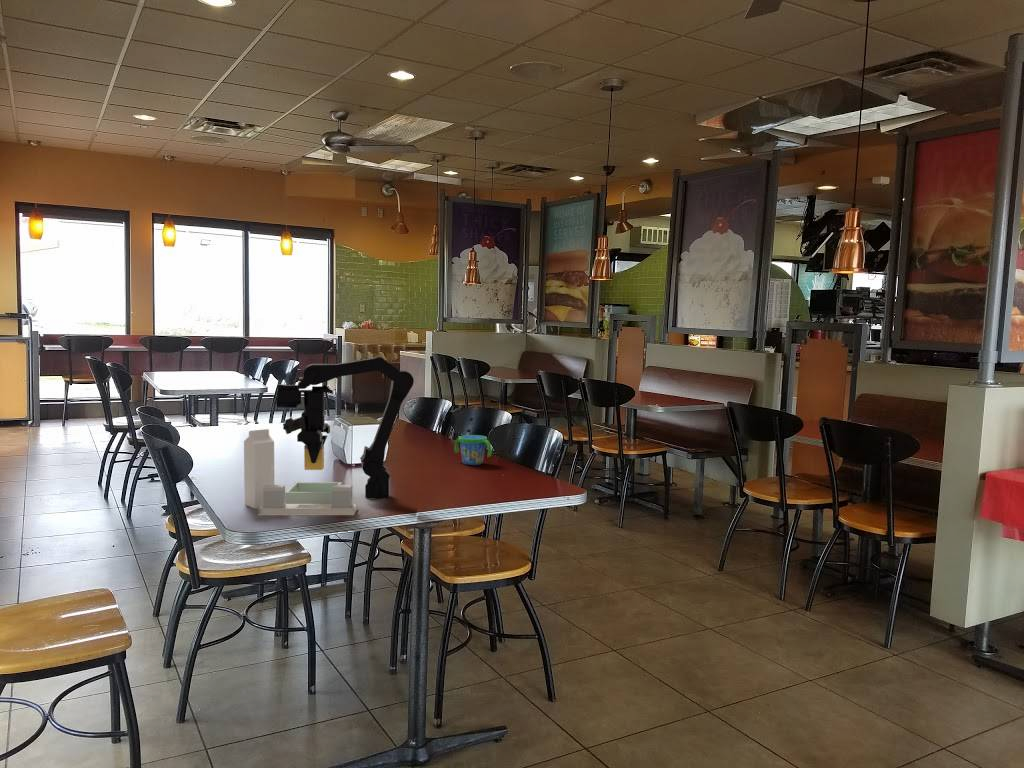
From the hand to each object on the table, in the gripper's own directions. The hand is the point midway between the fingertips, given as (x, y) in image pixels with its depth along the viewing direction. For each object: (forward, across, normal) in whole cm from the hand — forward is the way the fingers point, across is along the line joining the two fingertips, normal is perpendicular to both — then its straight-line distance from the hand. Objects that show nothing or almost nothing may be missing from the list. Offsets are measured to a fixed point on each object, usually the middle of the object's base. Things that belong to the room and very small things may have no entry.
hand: (314, 462), depth 217 cm
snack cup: (+12, -61, +47) cm, 78 cm away
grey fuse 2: (+11, +14, +10) cm, 21 cm away
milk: (+12, +6, -14) cm, 20 cm away
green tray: (+12, 0, 0) cm, 12 cm away
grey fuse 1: (+11, +14, -8) cm, 20 cm away
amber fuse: (+2, 0, 0) cm, 2 cm away
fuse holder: (+12, +14, +1) cm, 19 cm away
